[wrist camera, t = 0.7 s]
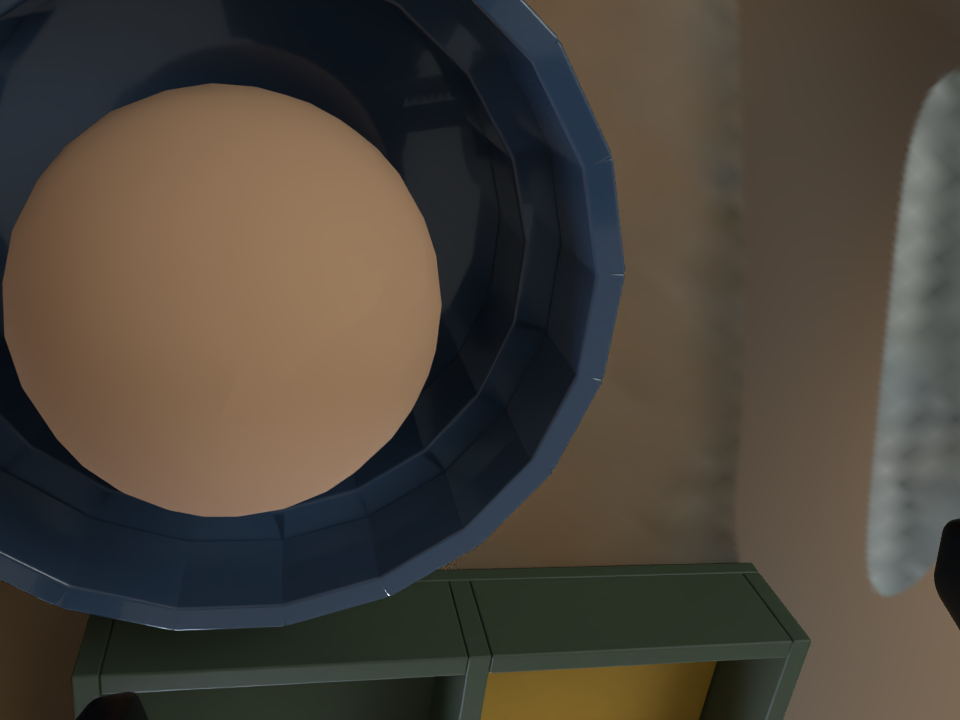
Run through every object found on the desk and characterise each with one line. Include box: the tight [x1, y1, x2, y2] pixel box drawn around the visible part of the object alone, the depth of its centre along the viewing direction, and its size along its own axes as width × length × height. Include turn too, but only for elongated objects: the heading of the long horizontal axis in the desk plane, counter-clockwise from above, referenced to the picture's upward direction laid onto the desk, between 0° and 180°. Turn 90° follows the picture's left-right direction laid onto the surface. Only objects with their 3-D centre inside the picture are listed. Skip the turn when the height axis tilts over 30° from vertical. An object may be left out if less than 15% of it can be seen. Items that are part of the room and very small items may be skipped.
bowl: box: [0, 0, 625, 631], centre depth 17 cm, size 14×14×5 cm
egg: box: [2, 83, 442, 517], centre depth 15 cm, size 7×7×8 cm
